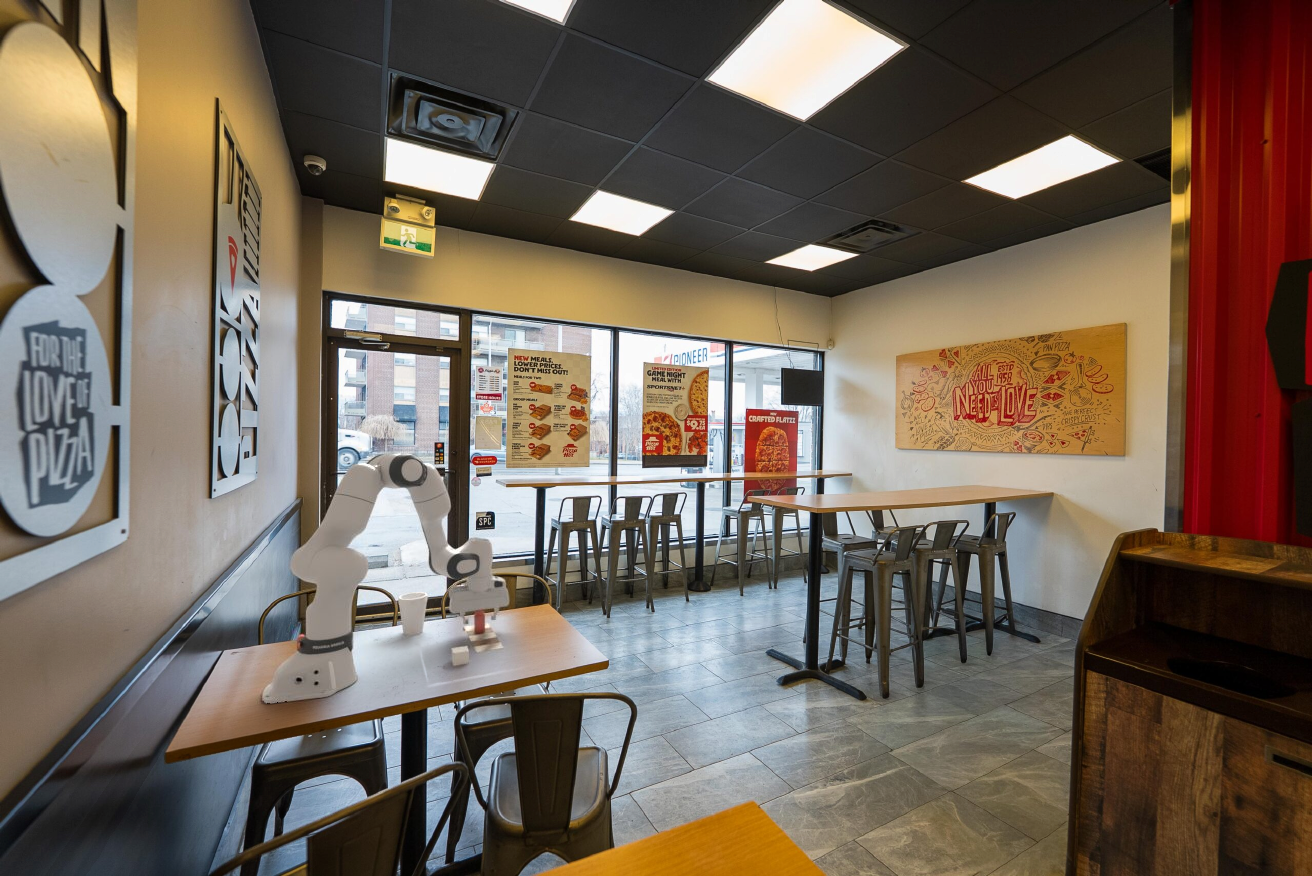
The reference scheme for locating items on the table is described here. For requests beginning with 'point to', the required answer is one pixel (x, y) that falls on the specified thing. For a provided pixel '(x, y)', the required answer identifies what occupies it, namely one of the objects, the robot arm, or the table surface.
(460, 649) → the white cube
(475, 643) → the board
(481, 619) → the red bottle
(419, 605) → the foam cup
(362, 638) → the table surface
